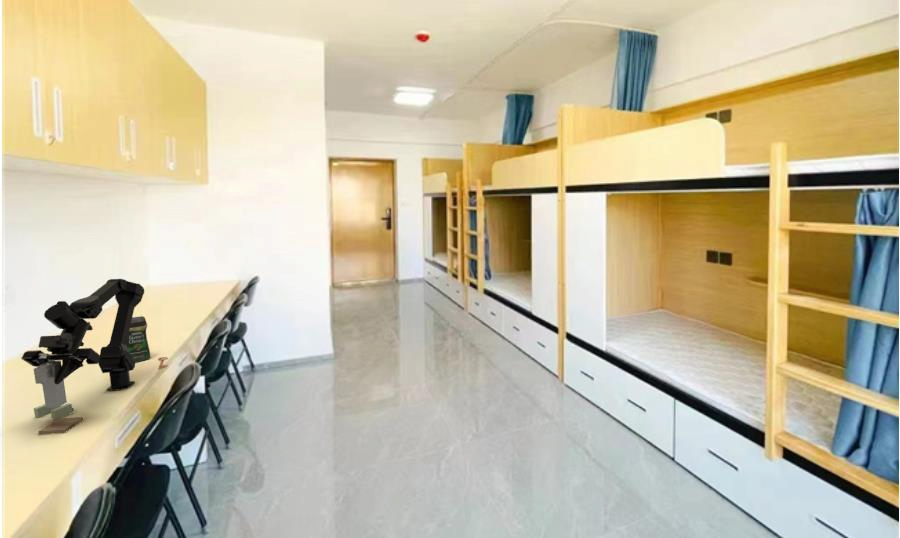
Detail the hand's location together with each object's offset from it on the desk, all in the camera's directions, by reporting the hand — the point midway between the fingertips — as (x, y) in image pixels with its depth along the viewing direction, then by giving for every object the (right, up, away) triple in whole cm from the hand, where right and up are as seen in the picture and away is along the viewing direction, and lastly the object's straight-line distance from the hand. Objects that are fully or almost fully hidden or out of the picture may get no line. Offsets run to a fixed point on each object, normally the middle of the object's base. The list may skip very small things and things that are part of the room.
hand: (49, 384), depth 133 cm
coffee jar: (-16, -5, +61) cm, 64 cm away
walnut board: (+1, -14, +3) cm, 14 cm away
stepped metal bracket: (0, -7, +1) cm, 7 cm away
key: (-2, -6, +57) cm, 57 cm away
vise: (-8, -13, +11) cm, 18 cm away
